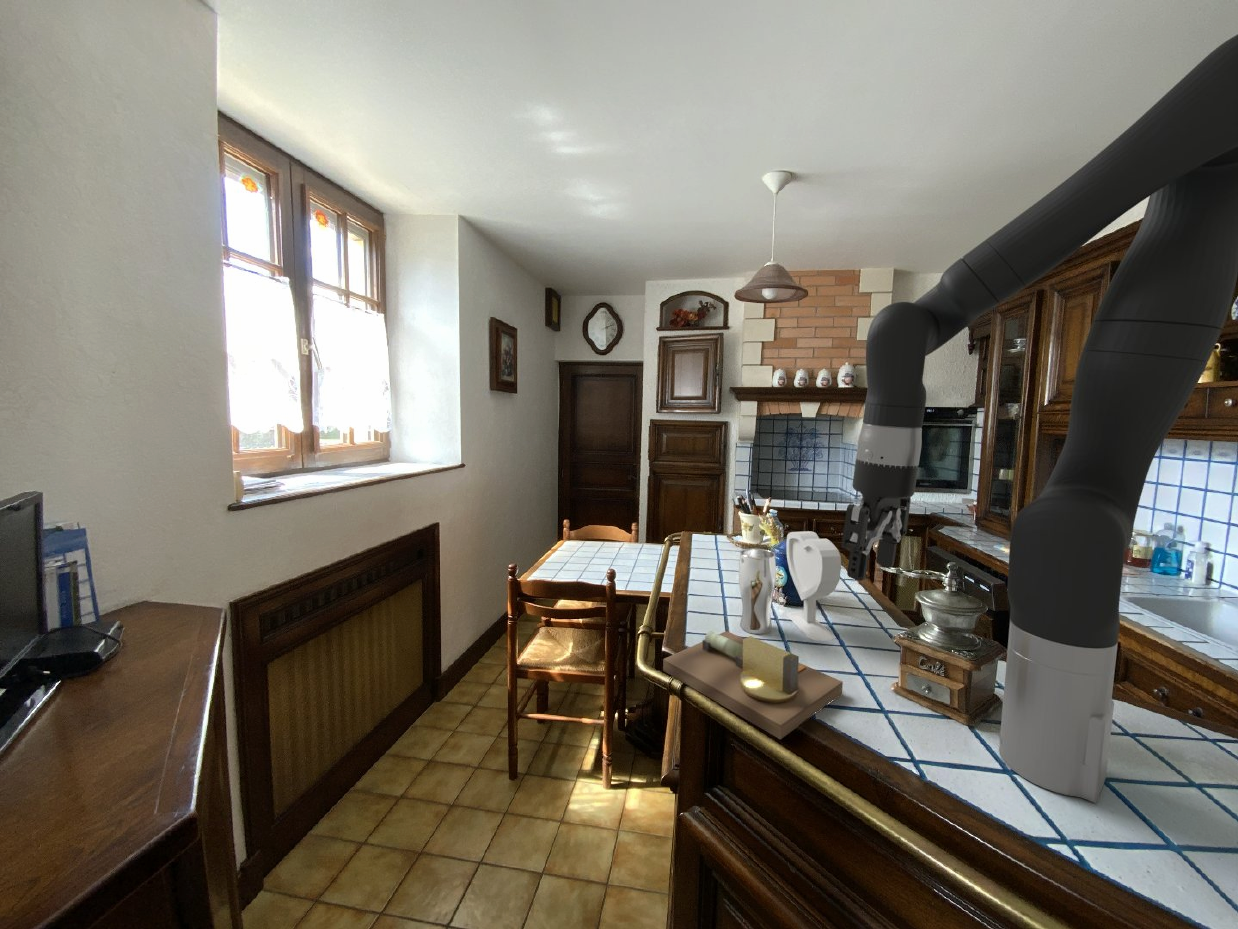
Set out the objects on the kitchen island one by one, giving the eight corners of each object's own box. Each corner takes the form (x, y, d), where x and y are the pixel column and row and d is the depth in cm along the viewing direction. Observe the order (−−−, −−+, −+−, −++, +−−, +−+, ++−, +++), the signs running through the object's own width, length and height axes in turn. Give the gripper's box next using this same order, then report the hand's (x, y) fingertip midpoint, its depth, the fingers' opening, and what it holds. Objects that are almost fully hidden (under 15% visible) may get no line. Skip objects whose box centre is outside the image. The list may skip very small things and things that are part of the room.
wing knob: (809, 688, 72) (810, 649, 71) (777, 710, 67) (778, 668, 66) (761, 666, 78) (762, 630, 77) (729, 684, 73) (729, 646, 72)
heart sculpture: (780, 609, 105) (783, 526, 103) (803, 608, 105) (806, 526, 103) (815, 644, 90) (818, 547, 88) (842, 642, 90) (846, 546, 88)
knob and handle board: (842, 694, 74) (843, 664, 73) (780, 739, 64) (781, 705, 64) (726, 641, 91) (726, 616, 91) (663, 670, 81) (663, 643, 81)
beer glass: (770, 620, 100) (772, 548, 98) (778, 636, 93) (780, 559, 91) (735, 619, 100) (736, 547, 99) (740, 635, 94) (741, 558, 92)
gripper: (892, 468, 59) (874, 594, 62) (938, 459, 68) (920, 570, 71) (832, 458, 65) (818, 574, 68) (882, 451, 74) (867, 554, 77)
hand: (870, 571), depth 70 cm, fingers open, 8 cm apart
